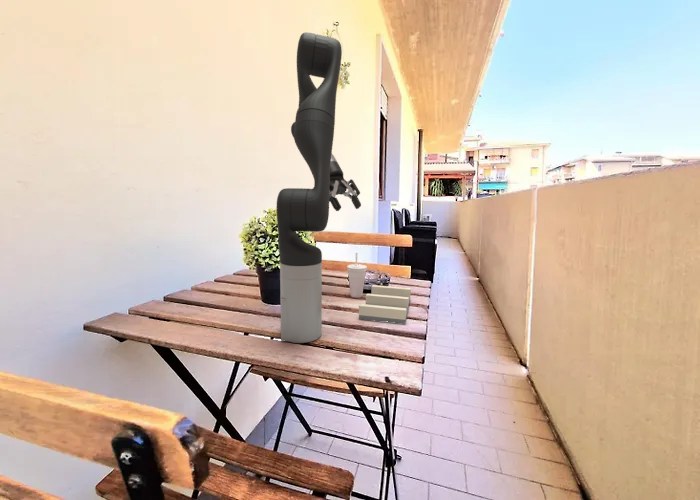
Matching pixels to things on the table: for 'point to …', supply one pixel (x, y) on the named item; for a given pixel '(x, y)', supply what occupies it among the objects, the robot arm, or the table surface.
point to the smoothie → (356, 278)
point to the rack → (386, 304)
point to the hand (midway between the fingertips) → (349, 208)
